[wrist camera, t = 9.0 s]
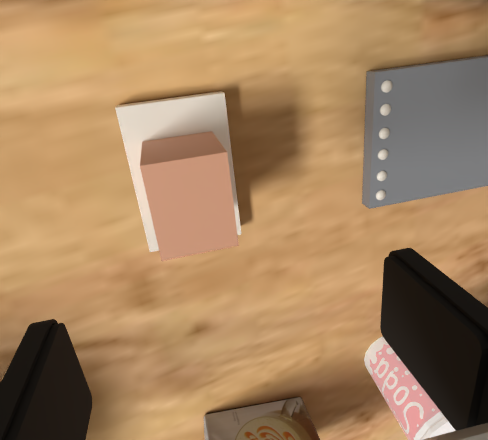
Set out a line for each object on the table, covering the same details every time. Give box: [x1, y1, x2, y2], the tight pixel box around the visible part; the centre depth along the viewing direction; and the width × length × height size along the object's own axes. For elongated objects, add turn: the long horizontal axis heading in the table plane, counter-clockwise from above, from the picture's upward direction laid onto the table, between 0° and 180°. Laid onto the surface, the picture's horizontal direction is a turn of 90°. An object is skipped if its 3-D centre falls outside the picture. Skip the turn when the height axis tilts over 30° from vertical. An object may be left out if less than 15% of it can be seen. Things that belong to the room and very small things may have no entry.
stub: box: [115, 91, 241, 261], centre depth 21 cm, size 6×9×6 cm, turn 6°
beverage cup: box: [364, 337, 456, 440], centre depth 29 cm, size 6×6×14 cm
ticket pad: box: [362, 55, 488, 209], centre depth 27 cm, size 18×9×1 cm, turn 96°
